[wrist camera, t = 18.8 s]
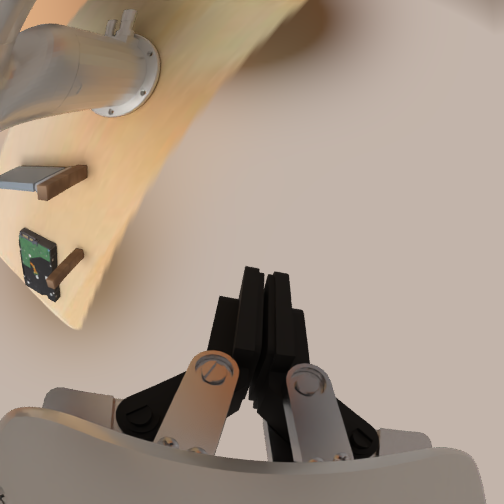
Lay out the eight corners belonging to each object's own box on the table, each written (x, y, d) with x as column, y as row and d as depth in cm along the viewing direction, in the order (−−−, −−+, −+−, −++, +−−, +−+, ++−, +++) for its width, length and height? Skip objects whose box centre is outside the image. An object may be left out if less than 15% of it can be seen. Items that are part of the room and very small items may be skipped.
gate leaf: (73, 166, 34) (41, 182, 28) (74, 176, 35) (42, 194, 28) (19, 165, 34) (-11, 179, 27) (19, 173, 35) (-10, 188, 28)
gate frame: (77, 163, 35) (36, 183, 26) (88, 165, 35) (47, 186, 26) (76, 254, 43) (47, 286, 35) (85, 258, 44) (56, 291, 35)
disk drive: (62, 295, 50) (57, 242, 43) (56, 303, 48) (49, 249, 41) (31, 278, 49) (24, 225, 41) (25, 285, 46) (16, 232, 39)
